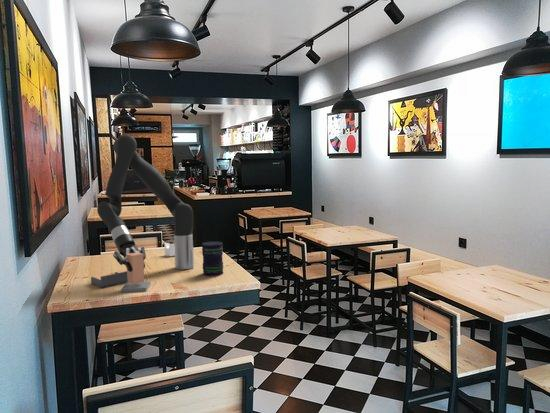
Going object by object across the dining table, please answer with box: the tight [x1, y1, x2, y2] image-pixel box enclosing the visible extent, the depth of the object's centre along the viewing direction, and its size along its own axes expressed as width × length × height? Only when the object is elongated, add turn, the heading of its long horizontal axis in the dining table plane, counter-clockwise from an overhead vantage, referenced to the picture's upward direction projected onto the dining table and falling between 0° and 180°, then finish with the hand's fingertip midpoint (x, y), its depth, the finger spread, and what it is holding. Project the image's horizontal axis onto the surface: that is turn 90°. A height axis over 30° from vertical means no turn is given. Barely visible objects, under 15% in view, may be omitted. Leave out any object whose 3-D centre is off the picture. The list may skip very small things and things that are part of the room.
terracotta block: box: [126, 251, 145, 284], centre depth 174 cm, size 5×5×12 cm
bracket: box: [163, 242, 175, 257], centre depth 242 cm, size 13×7×8 cm, turn 131°
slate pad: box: [120, 280, 151, 293], centre depth 174 cm, size 10×10×2 cm
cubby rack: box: [90, 270, 128, 289], centre depth 183 cm, size 11×12×5 cm
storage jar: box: [201, 240, 224, 277], centre depth 196 cm, size 10×10×15 cm
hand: (137, 269), depth 172 cm, fingers closed on terracotta block, 5 cm apart
